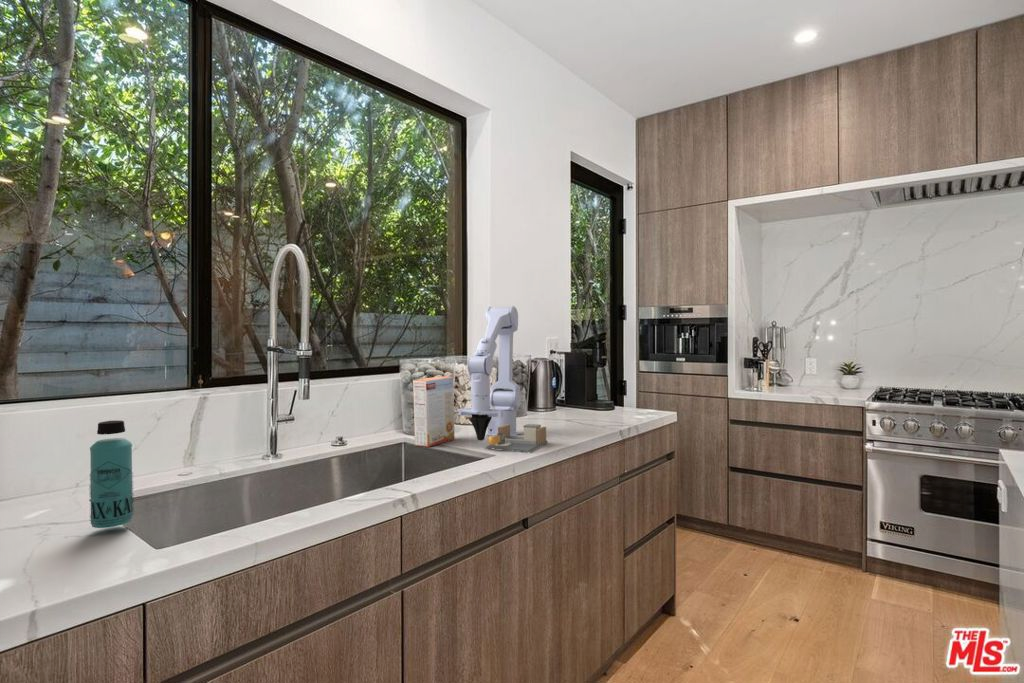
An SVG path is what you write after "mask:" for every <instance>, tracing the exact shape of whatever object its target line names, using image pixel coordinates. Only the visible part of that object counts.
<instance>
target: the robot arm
mask: <svg viewBox="0 0 1024 683" xmlns="http://www.w3.org/2000/svg"><path fill="white" fill-rule="evenodd" d="M485 321H486V324H487V325H486V330H485V332H484V337H482V338H481V339H479V341H478V344H477V347H476V350H475V351H474V355H472V356H471V357H469V358H468V360H467V366H466V368H467V373H468V379H469V381H470V407H469V408H463V407H461V408H458V409H457V411H458V412H457V414H458V416H470V418H469V421H470V422H471V424H472V427H473V429H474V432H475V434H476V439H477V441H482V442H483V441H484V440H486V439H485V438H486V436H487V435H489V436H496V435H497V433H498V427H500V426H503V425H505V424H509V425H510V435H517V436H519V435H520V434H521V432H520V431H517V409H519V407H520V406H521V403H522V394H521V386H520V385H519V384H517V382H515V381H514V380H513V365H514V364H513V358H514V356H513V355H514V333H515V332H517V331H518V327H519V312H518V310H517V307H516V306H515V305H512V306H488V307H487V308H486V310H485ZM497 338H498V346H497V342H496V340H497ZM497 347H498V368H497V369H498V372H497V381H496V382H495V383H494V384H491V385H490V378H491V376H490V375H491V374H492V372H493V370H494V369H493V368H494V355H495V352H496V349H497ZM490 386H491V387H490ZM486 433H487V434H486ZM489 436H488V437H489Z"/></svg>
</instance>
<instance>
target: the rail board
mask: <svg viewBox="0 0 1024 683" xmlns="http://www.w3.org/2000/svg"><path fill="white" fill-rule="evenodd" d="M498 433H505V442H510V443H511V445H509V446H502V447H499V446H492V445H489V444H488V445H486V449H487V448H494V449H502V450H501V451H505V450H513V451H512V452H517V451H524V452H523V453H528V452H530V451H531V452H533V451H535V450H537V449H539V448H540V446H541V447H542V445H543V446H544V444H545V443H547V444H548V440H547V426H542V427H541V428H539V429H537V430H536V441H532V440H524V435H510V425H509V424H505V425H503V426H500V427H498ZM545 445H546V444H545ZM538 447H539V448H538ZM536 448H537V449H536ZM534 449H535V450H534ZM532 450H533V451H532ZM531 452H530V453H531Z"/></svg>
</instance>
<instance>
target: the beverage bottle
mask: <svg viewBox="0 0 1024 683" xmlns="http://www.w3.org/2000/svg"><path fill="white" fill-rule="evenodd" d="M125 432H126V427H125V421H124V420H106V421H100V422H98V424H97V432H96V434H97V435H102V436H103V435H115V434H121V433H125ZM89 450H90V451H89V452H90V473H89V476H88V477H89V482H90V483H89V488H88V489H89V495H88V496H89V498H90V499H89V502H90V516H89V522H90V524H91V527H92V528H94V529H106V528H113V527H118V526H122V525H125V524H127V523H130V522H131V521H132V519H133V516H134V509H135V507H134V506H135V504H134V503H135V502H134V501H135V500H134V498H135V497H134V493H133V491H134V482H133V452H132V451H133V444H132V442H131V441H130V440H128V439H127V438H124V437H113V438H104V439H99V440H96V441H95V442H94V443H93V444H92V445H91V446H90V447H89Z"/></svg>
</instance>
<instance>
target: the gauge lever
mask: <svg viewBox="0 0 1024 683" xmlns="http://www.w3.org/2000/svg"><path fill="white" fill-rule="evenodd" d="M499 442H500V435H496V436H488V445H495V444H496V443H499Z"/></svg>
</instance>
